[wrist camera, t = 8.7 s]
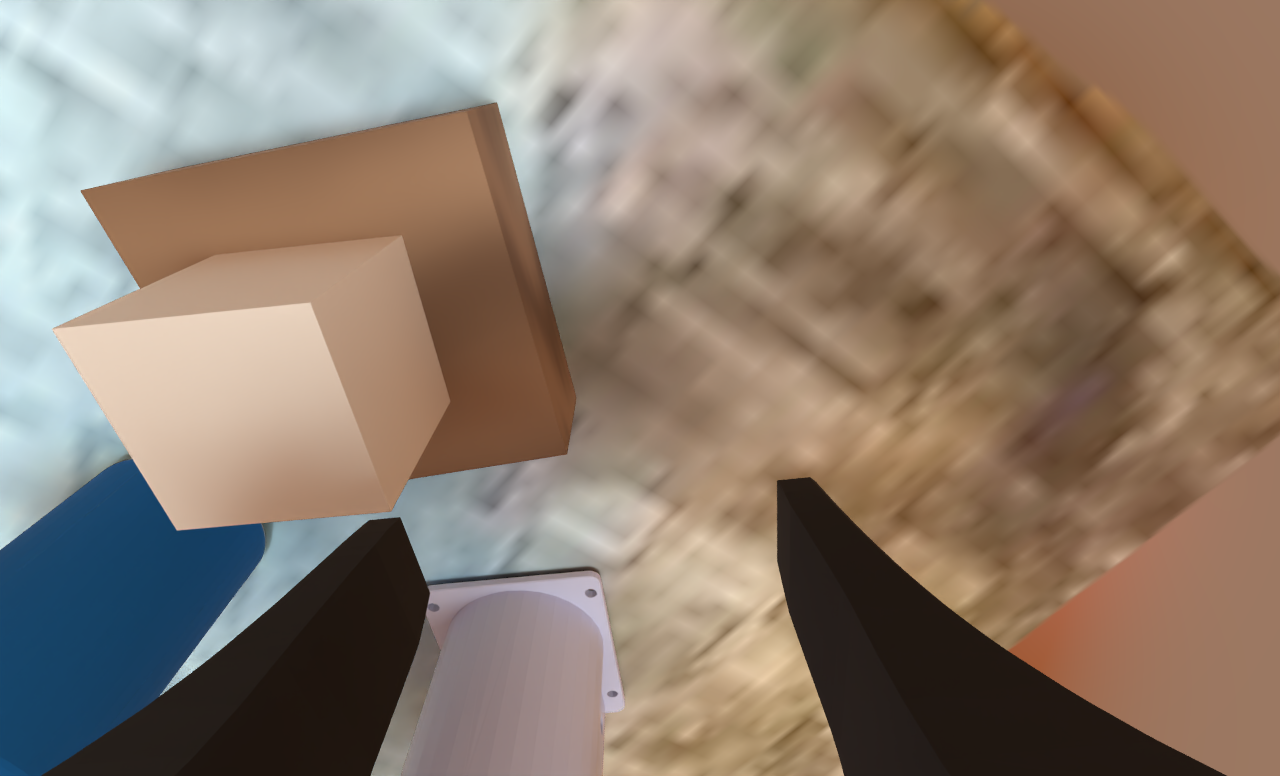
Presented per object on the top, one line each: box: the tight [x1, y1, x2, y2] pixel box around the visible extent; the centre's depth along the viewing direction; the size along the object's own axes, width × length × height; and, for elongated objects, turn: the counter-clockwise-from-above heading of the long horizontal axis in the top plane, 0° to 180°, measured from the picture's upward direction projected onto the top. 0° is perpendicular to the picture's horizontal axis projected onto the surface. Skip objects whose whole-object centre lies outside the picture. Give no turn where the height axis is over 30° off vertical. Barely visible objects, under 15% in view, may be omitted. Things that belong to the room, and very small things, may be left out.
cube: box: [52, 235, 450, 530], centre depth 14 cm, size 5×5×5 cm
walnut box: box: [81, 103, 576, 479], centre depth 19 cm, size 10×10×4 cm
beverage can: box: [0, 459, 266, 776], centre depth 19 cm, size 6×6×12 cm
